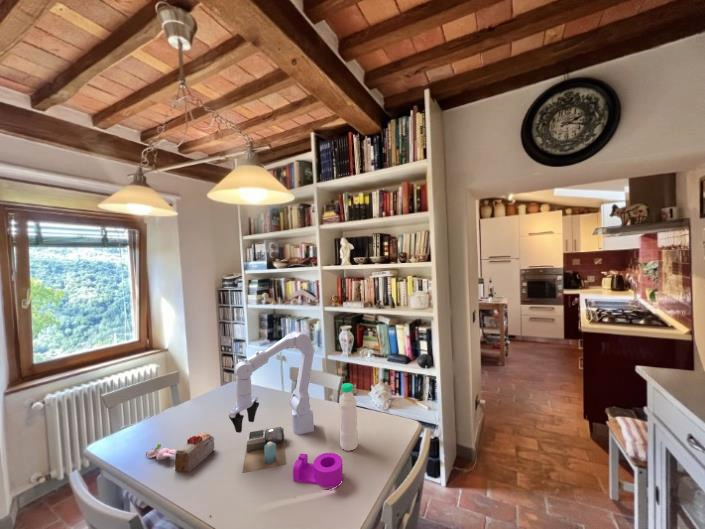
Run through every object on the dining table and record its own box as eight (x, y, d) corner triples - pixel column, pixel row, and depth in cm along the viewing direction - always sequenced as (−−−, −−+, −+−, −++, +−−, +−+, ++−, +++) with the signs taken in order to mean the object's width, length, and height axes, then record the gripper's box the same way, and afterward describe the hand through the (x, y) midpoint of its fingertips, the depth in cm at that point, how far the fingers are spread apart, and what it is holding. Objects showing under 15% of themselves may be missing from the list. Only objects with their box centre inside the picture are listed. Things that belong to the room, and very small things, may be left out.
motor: (283, 435, 125) (283, 422, 125) (284, 445, 119) (283, 431, 118) (248, 442, 122) (247, 428, 122) (246, 452, 115) (246, 438, 115)
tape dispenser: (345, 471, 105) (345, 454, 105) (338, 493, 95) (338, 473, 95) (303, 466, 108) (302, 449, 108) (292, 486, 98) (291, 468, 98)
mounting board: (284, 436, 127) (284, 433, 127) (285, 467, 107) (285, 464, 107) (247, 443, 123) (247, 440, 123) (242, 476, 104) (242, 472, 104)
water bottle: (360, 443, 120) (358, 382, 120) (353, 453, 114) (351, 389, 114) (345, 439, 123) (343, 380, 123) (337, 449, 117) (335, 386, 117)
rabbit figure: (141, 462, 115) (168, 465, 109) (139, 447, 115) (165, 449, 109) (157, 453, 120) (183, 455, 115) (155, 438, 121) (181, 439, 115)
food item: (198, 450, 119) (198, 426, 119) (216, 452, 118) (215, 427, 118) (172, 474, 106) (171, 447, 106) (192, 476, 104) (191, 449, 104)
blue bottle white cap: (275, 455, 112) (275, 438, 112) (275, 462, 109) (275, 445, 108) (265, 457, 111) (264, 440, 111) (264, 464, 108) (264, 447, 107)
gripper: (247, 384, 126) (248, 416, 126) (222, 399, 112) (223, 435, 112) (261, 386, 124) (262, 418, 124) (237, 402, 110) (239, 438, 110)
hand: (245, 426), depth 118 cm, fingers open, 7 cm apart
